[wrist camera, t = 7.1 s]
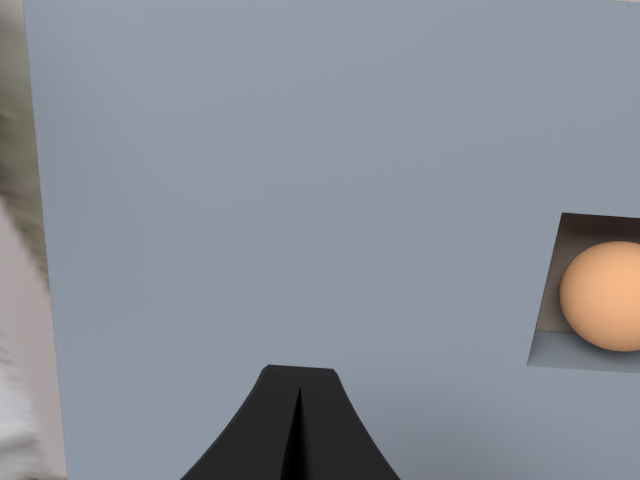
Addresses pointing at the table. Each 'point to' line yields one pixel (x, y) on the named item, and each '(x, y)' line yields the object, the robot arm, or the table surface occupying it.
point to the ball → (604, 295)
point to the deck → (333, 223)
